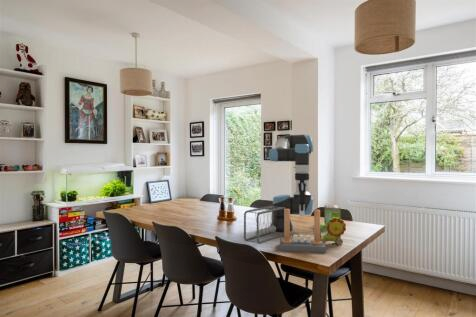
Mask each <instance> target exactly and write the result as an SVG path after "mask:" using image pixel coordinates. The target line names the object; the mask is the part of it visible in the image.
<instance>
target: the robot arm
mask: <svg viewBox="0 0 476 317" xmlns="http://www.w3.org/2000/svg"><path fill="white" fill-rule="evenodd" d="M312 140H313V138H312V136H311V135H309V134H288V135H283V136H281V137H279V138H278V139H276V141H275V144H274V148H270V149H269V156H268V157H269V161H270V162H275V163H276V162H294V165H295V166H293V168H294V172H295V173H294V180H295V192H294V193H293V196H291V194H280V195H275V196H274V197H272V206H274V208H275V209H276V208H277V207H285V208H286V209H290V215H293V216H294V215H295V216H296V215H299V217H301V218H305V217H306V216H309V215H311V214H312V212H313V206H314V197H313V196H312V193H310V187H309V186H310V184H309V183H310V181H309V180H310V156H311V155H312V153H313V152H314V146H313V141H312ZM275 212H276V214H275ZM274 219H275V221H274V226H275V227H276V231H275V232H276V233H284V209H281V210H277V211H274ZM270 222H271V224H269V226H270V227H271V226H272V221H270ZM293 228H294V226H293V223H292V221H291V218H290V232H292V231H293V230H294V229H293Z"/></svg>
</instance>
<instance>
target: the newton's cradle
mask: <svg viewBox="0 0 476 317" xmlns="http://www.w3.org/2000/svg"><path fill="white" fill-rule="evenodd" d="M281 209H286V208H285V207H277V208H276V209H275V208H274V206H273V205H268V206H264V207H259V208H254V209H248V210H245V212H244V214H243V239H244V241H247V242H248V241H249V242H253V243H257V244H259V245H260V244H262V243H265V242H269V241H271V240H273V239H276V238H279V237H282V236H284V232H277V231H276V227H275V226H274V221H275V219H274V211H277V210H281ZM247 213H252V214H254V215H255V216H256V220H255V222H256V230H255V232H254V233H255V234H254V235H255V236H251V237H247V220H246V219H247ZM265 214H267V215H265ZM270 214H271V215H270ZM275 214H276V212H275ZM261 215H262V216H263V219H265V217H267V220H266V221H267V225H265V223H266V222H265V220H263V224H262V225H265V227H263V226H261V223H262V222H261V218H262V217H261ZM269 215H270V217H271V218H270V220H271V221H270V222H269ZM271 222H272V226H271V227H270V225H271ZM267 226H268V227H267ZM260 228H261V229H260ZM272 233H273V234H277V235H274V236H272V237H269V238H266V239H263V240H259V239H260V237H264V236H266V235H269V234H272ZM254 239H256V240H254Z"/></svg>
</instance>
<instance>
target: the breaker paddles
mask: <svg viewBox="0 0 476 317" xmlns="http://www.w3.org/2000/svg"><path fill="white" fill-rule="evenodd" d="M311 237H312V235H311V234H310V235H309V234H308V235H307V234H306V240H307V241H306V240H305V235H304V234H299V239H298V234H293V240H294V242H299V243H311Z"/></svg>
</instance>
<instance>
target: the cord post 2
mask: <svg viewBox="0 0 476 317" xmlns="http://www.w3.org/2000/svg"><path fill="white" fill-rule="evenodd" d="M313 211H314V212H313V213H314V214H313V218H314V219H313V222H314V223H313V224H314V225H313V226H314V227H313V228H314V230H313V231H314V232H313V233H314V235H313V236H314V237H313V241H312V244H315V245H321V244H322V241H320V226H321V210H320V209H314V210H313Z"/></svg>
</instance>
